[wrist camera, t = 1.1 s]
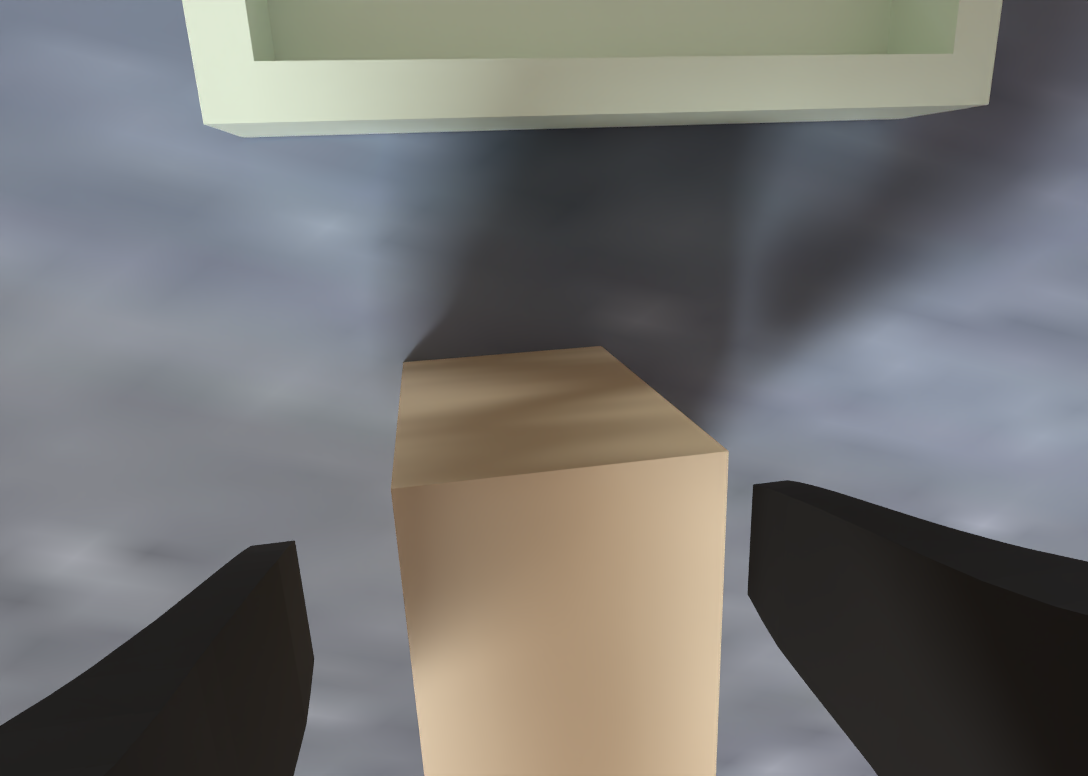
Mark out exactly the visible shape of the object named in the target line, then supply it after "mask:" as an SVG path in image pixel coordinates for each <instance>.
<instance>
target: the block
mask: <svg viewBox="0 0 1088 776" xmlns="http://www.w3.org/2000/svg"><path fill="white" fill-rule="evenodd" d="M728 454H729V451H728V450H726V449H725V448H724V447H723V446H722V445H720V444H719V443H718V442H717V441H716V440H714V439H713V438H712V437H711V436H710V435H708V434H707V433H706V432H705V431H703V430H702V429H701V428H700V427H699V426H697V425H696V424H695V423H694V422H693V421H691V420H690V419H689V418H688V417H687V416H685V415H684V414H683V413H682V412H680V411H679V410H678V409H677V408H676V407H674V406H673V405H672V404H671V403H670V402H668V401H667V400H666V399H665V398H663V397H662V396H661V395H660V394H659V393H657V392H656V391H655V390H654V389H653V388H651V387H650V386H649V385H648V384H647V383H645V382H644V381H643V380H642V379H640V378H639V377H638V376H637V375H636V374H634V373H633V372H632V371H631V370H630V369H628V368H627V367H626V366H625V365H624V364H622V363H621V362H620V361H619V360H617V359H616V358H615V357H614V356H613V355H611V354H610V353H609V352H608V351H607V350H605V349H604V348H603V347H602V346H594V347H582V348H570V349H558V350H546V351H533V352H521V353H509V354H497V355H485V356H473V357H460V358H448V359H436V360H424V361H412V362H403V370H402V381H401V391H400V401H399V411H398V422H397V432H396V442H395V452H394V463H393V473H392V483H391V494H392V502H393V511H394V519H395V528H396V536H397V545H398V553H399V562H400V570H401V579H402V587H403V596H404V605H405V613H406V622H407V630H408V639H409V647H410V656H411V664H412V673H413V681H414V690H415V698H416V707H417V716H418V724H419V733H420V741H421V750H422V758H423V767H424V775H425V776H716V757H717V731H718V706H719V681H720V656H721V630H722V605H723V580H724V555H725V529H726V504H727V479H728Z"/></svg>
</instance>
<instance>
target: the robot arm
mask: <svg viewBox="0 0 1088 776" xmlns="http://www.w3.org/2000/svg"><path fill="white" fill-rule="evenodd" d="M748 596H749V597H750V599H751V601H752V603H753V605H754V607H755V608H756V610H757V612H758V614H759V616H760V617H761V619H762V621H763V623H764V625H765V626H766V628H767V629H768V631H769V633H770V634H771V636H772V638H773V639H774V641H775V643H776V644H777V646H778V647H779V649H780V650H781V651H782V653H783V654H784V655H785V657H786V658H787V659H788V661H789V662H790V663H791V665H792V666H793V667H794V668H795V670H796V671H797V672H798V674H799V675H800V676H801V678H802V679H803V680H804V681H805V683H806V684H807V685H808V687H809V688H810V689H811V690H812V692H813V693H814V694H815V695H816V697H817V698H818V699H819V701H820V702H821V703H822V704H823V706H824V707H825V708H826V709H827V711H828V712H829V713H830V714H831V716H832V717H833V718H834V720H835V721H836V722H837V723H838V725H839V726H840V727H841V728H842V730H843V731H844V732H845V733H846V735H847V736H848V737H849V739H850V740H851V741H852V742H853V744H854V745H855V746H856V747H857V749H858V750H859V751H860V753H861V754H862V755H863V756H864V758H865V759H866V760H867V761H868V763H869V764H870V765H871V767H872V768H873V769H874V771H875V772H876V773H877V775H878V776H1088V562H1087V561H1082V560H1078V559H1073V558H1068V557H1064V556H1059V555H1055V554H1050V553H1046V552H1041V551H1036V550H1032V549H1027V548H1023V547H1019V546H1015V545H1011V544H1007V543H1003V542H999V541H996V540H992V539H988V538H985V537H981V536H978V535H974V534H970V533H967V532H963V531H960V530H956V529H953V528H949V527H946V526H942V525H939V524H936V523H932V522H929V521H926V520H923V519H919V518H916V517H913V516H910V515H907V514H904V513H900V512H897V511H894V510H891V509H888V508H885V507H882V506H879V505H875V504H872V503H869V502H866V501H863V500H860V499H857V498H853V497H850V496H847V495H844V494H841V493H837V492H834V491H831V490H827V489H824V488H820V487H817V486H813V485H809V484H805V483H800V482H795V481H788V480H787V481H778V482H770V483H762V484H754V485H753V497H752V517H751V537H750V557H749V576H748ZM313 666H314V655H313V649H312V643H311V637H310V630H309V624H308V618H307V612H306V606H305V600H304V594H303V588H302V582H301V576H300V569H299V563H298V557H297V551H296V545H295V541H287V542H279V543H271V544H263V545H255V546H250V547H249V548H247V549H246V550H244V551H243V552H241V553H240V554H238V555H237V556H236V557H234V558H233V559H232V560H230V561H229V562H228V563H227V564H225V565H224V566H223V567H222V568H220V569H219V570H218V571H217V572H215V573H214V574H213V575H212V576H210V577H209V578H208V579H207V580H206V581H204V582H203V583H202V584H201V585H199V586H198V587H197V588H196V589H194V590H193V591H192V592H191V593H189V594H188V595H187V596H186V597H184V598H183V599H182V600H181V601H179V602H178V603H177V604H176V605H174V606H173V607H172V608H170V609H169V610H168V611H167V612H165V613H164V614H163V615H162V616H160V617H159V618H158V619H157V620H155V621H154V622H153V623H151V624H150V625H149V626H147V627H146V628H144V629H143V630H142V631H140V632H139V633H138V634H136V635H135V636H134V637H132V638H131V639H129V640H128V641H127V642H125V643H124V644H123V645H121V646H120V647H118V648H117V649H116V650H114V651H113V652H112V653H110V654H109V655H108V656H106V657H105V658H103V659H102V660H101V661H99V662H98V663H97V664H95V665H94V666H93V667H91V668H90V669H88V670H87V671H85V672H84V673H82V674H81V675H79V676H78V677H77V678H75V679H74V680H72V681H71V682H69V683H68V684H66V685H64V686H63V687H61V688H60V689H58V690H57V691H55V692H54V693H52V694H51V695H49V696H48V697H46V698H44V699H43V700H41V701H40V702H38V703H36V704H35V705H33V706H32V707H30V708H28V709H27V710H25V711H23V712H22V713H20V714H19V715H17V716H15V717H14V718H12V719H11V720H9V721H7V722H6V723H4V724H2V725H1V726H0V776H293V775H294V771H295V767H296V763H297V760H298V756H299V752H300V748H301V744H302V740H303V736H304V731H305V727H306V723H307V715H308V708H309V700H310V693H311V684H312V675H313Z"/></svg>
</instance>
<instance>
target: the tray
mask: <svg viewBox="0 0 1088 776" xmlns="http://www.w3.org/2000/svg"><path fill="white" fill-rule="evenodd" d="M182 2H183V8H184V14H185V19H186V25H187V31H188V37H189V42H190V48H191V54H192V60H193V66H194V71H195V77H196V83H197V89H198V94H199V100H200V106H201V112H202V117H203V123H204V124H205V125H208V126H211V127H214V128H217V129H220V130H222V131H225V132H228V133H231V134H234V135H237V136H240V137H277V136H312V135H348V134H384V133H420V132H455V131H491V130H527V129H562V128H598V127H634V126H669V125H705V124H741V123H777V122H812V121H848V120H884V119H904V118H910V117H916V116H922V115H928V114H934V113H941V112H947V111H953V110H959V109H965V108H971V107H977V106H983V105H989V97H990V90H991V83H992V75H993V68H994V61H995V53H996V46H997V39H998V31H999V24H1000V17H1001V9H1002V2H1003V0H182Z"/></svg>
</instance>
